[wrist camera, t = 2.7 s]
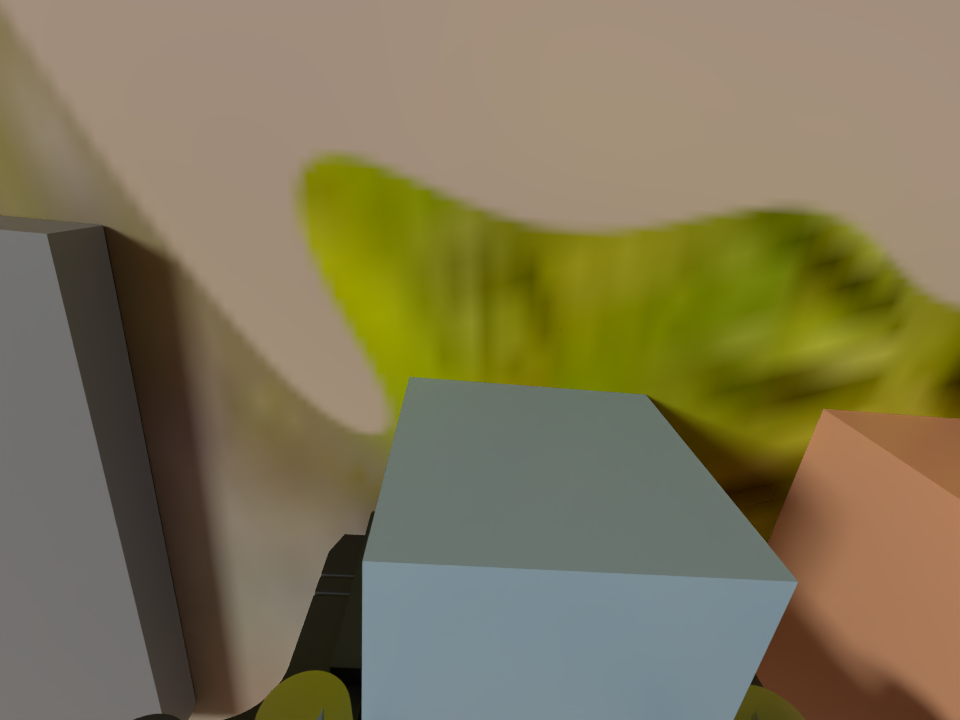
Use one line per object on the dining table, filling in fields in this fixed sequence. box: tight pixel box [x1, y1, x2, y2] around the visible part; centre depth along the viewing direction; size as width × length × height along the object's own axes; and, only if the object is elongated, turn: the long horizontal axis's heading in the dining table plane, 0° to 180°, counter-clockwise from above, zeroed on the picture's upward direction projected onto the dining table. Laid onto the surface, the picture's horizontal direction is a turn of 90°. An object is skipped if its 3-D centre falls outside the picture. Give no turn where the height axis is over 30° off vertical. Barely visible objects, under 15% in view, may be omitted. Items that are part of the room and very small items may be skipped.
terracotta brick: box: [756, 409, 960, 720], centre depth 10 cm, size 5×8×5 cm, turn 175°
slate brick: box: [362, 377, 798, 720], centre depth 9 cm, size 5×8×5 cm, turn 174°
